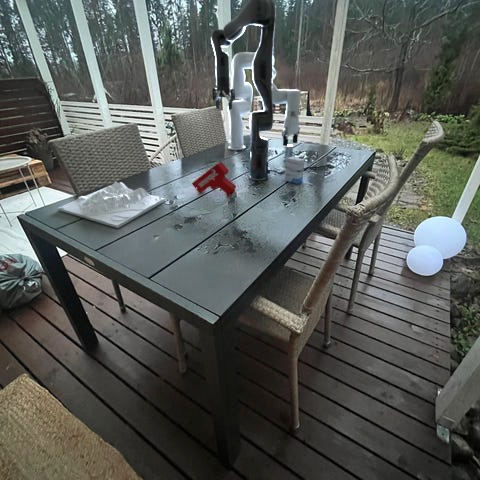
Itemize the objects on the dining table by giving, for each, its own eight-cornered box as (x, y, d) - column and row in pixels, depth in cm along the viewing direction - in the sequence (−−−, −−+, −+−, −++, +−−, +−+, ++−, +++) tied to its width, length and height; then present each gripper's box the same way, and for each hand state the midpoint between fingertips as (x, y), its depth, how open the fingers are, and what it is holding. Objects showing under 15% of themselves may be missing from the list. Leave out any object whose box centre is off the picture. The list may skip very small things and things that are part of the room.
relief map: (117, 228, 103) (114, 216, 100) (59, 210, 116) (54, 199, 113) (165, 201, 123) (163, 190, 120) (110, 188, 136) (107, 178, 134)
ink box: (302, 181, 142) (305, 159, 136) (297, 184, 139) (300, 161, 133) (289, 177, 147) (291, 156, 141) (284, 180, 144) (285, 158, 138)
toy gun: (240, 187, 127) (221, 160, 123) (237, 190, 124) (218, 163, 120) (214, 205, 137) (195, 180, 133) (210, 208, 134) (191, 183, 130)
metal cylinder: (293, 161, 173) (294, 145, 168) (287, 162, 171) (288, 146, 166) (288, 159, 176) (289, 144, 171) (282, 160, 174) (284, 145, 169)
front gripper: (237, 76, 145) (238, 109, 154) (216, 75, 152) (218, 107, 161) (229, 76, 140) (230, 110, 149) (208, 76, 147) (210, 109, 156)
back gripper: (295, 111, 166) (293, 141, 175) (278, 115, 156) (276, 145, 165) (306, 112, 162) (303, 142, 171) (288, 116, 151) (286, 147, 160)
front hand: (224, 109), depth 155 cm, fingers open, 8 cm apart
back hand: (290, 144), depth 168 cm, fingers open, 9 cm apart
